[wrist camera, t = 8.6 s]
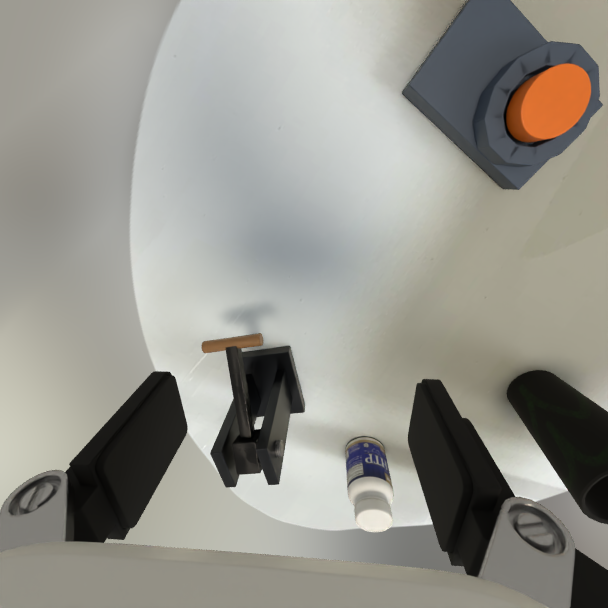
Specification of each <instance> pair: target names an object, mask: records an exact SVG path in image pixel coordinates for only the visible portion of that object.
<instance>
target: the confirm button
mask: <svg viewBox="0 0 608 608" xmlns="http://www.w3.org/2000/svg"><path fill="white" fill-rule="evenodd" d="M590 95H591V82H590V79H589V76H588V74H587V73H586V71H585V70H584V69H583V68H581V67H579V66H577V65H575V64H559V65H556V66H553V67H551V68H549V69H547V70H545V71H543V72H541V73H539V74H537V75H535V76H533V77H532V78H530V79H528V80H527V81H525V82H524V83H523V84H522V85H521V86H520V87H519V88H518V89H517V91H516V92H515V93H514V95H513V97H512V98H511V100H510V103H509V105H508V108H507V113H506V124H507V128H508V130H509V132H510V134H511V135H512V136H513V137H514V138H515V139H517V140H519V141H522V142H536V141H541V140H546V139H551V138H555V137H557V136H559V135H562V134H563V133H565V132H566V131H568V130H569V129H570V128H572V127H573V126H574V125H575V124H576V123H577V122H578V120H579V119H580V118H581V116H582V115H583V113H584V112H585V110H586V108H587V106H588V103H589V100H590Z"/></svg>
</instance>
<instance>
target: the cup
mask: <svg viewBox="0 0 608 608" xmlns="http://www.w3.org/2000/svg"><path fill="white" fill-rule="evenodd" d="M507 398H508V400H509V402H510V403H511V405H512V406H513V408H514V409H515V411H516V412H517V414H518V415H519V417H520V418H521V420H522V421H523V423H524V424H525V426H526V427H527V429H528V430H529V432H530V433H531V435H532V436H533V438H534V439H535V441H536V442H537V444H538V445H539V447H540V448H541V450H542V451H543V453H544V454H545V456H546V457H547V459H548V460H549V462H550V463H551V465H552V467H553V468H554V470H555V471H556V473H557V474H558V476H559V477H560V479H561V480H562V482H563V483H564V485H565V486H566V488H567V489H568V491H569V492H570V493H571V495H572V497H573V498H574V499H575V501H576V503H577V504H578V505H579V507H580V509H581V510H582V512H583V513H584V514H585V515H587V516H588V517H589V518H591V519H593V520H596V521H598V522H600V523H604V524H608V412H607V411H606V410H604V409H603V408H601V407H600V406H599V405H597V404H596V403H594V402H593V401H591V400H590V399H589V398H587V397H586V396H584V395H583V394H581V393H580V392H579V391H577V390H576V389H574V388H573V387H571V386H570V385H568V384H567V383H566V382H564V381H563V380H561V379H560V378H558V377H557V376H556V375H554V374H552V373H550V372H547V371H540V370H537V371H530V372H527V373H524V374H522V375H520V376H519V377H517V378H516V379H515V380H513V382H512V383H511V384H510V385H509V388H508V390H507Z"/></svg>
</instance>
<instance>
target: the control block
mask: <svg viewBox="0 0 608 608" xmlns="http://www.w3.org/2000/svg"><path fill="white" fill-rule="evenodd" d="M559 64H575V65H577V66H579V67H581V68H583V69H584V70H585V71H586V73H587V74H588V76H589V79H590V82H591V95H590V100H589V103H588V106H587V108H586V110H585V112H584V113H583V115H582V116H581V118H580V119H579V120H578V122H577V123H576V124H575V125H574V126H573V127H572V128H570V129H569V130H568V131H566V132H565V133H563V134H562V135H559V136H557V137H555V138H551V139H546V140H541V141H536V142H522V141H519V140H517V139H515V138H514V137H513V136H512V135H511V134H510V132H509V130H508V128H507V124H506V113H507V108H508V105H509V103H510V100H511V98H512V97H513V95H514V93H515V92H516V91H517V89H518V88H519V87H520V86H521V85H522V84H523V83H524V82H525V81H527V80H528V79H530V78H532V77H533V76H535V75H537V74H539V73H541V72H543V71H545V70H547V69H549V68H551V67H553V66H556V65H559ZM402 94H403V95H404V96H405V97H406V98H408V99H409V100H410V101H411V102H412V103H413V104H414V105H415V106H416V107H417V108H418V109H419V110H420V111H421V112H422V113H423V114H424V115H426V116H427V117H428V118H429V119H430V120H431V121H432V122H433V123H434V124H435V125H436V126H437V127H438V128H439V129H440V130H441V131H442V132H444V133H445V134H446V135H447V136H448V137H449V138H450V139H451V140H452V141H453V142H454V143H455V144H456V145H457V146H458V147H459V148H461V149H462V150H463V151H464V152H465V153H466V154H467V155H468V156H469V157H470V158H471V159H472V160H473V161H474V162H475V163H476V164H477V165H479V166H480V167H481V168H482V169H483V170H484V171H485V172H486V173H487V174H488V175H489V176H490V177H491V178H492V179H493V180H494V181H496V182H497V183H498V184H499V185H500V186H501V187H502V188H503V189H516V190H519V189H520V188H521V187H522V186H523V185H524V184H525V183H526V182H527V181H528V180H529V179H530V178H531V177H532V176H533V175H534V174H535V173H536V172H537V171H538V170H539V169H540V168H541V167H542V166H543V165H544V164H545V163H546V162H547V161H548V160H549V159H550V158H552V157H555V156H557V155H559V154H561V153H562V152H563V151H564V150H565V149H566V148H567V147H568V146H569V145H570V144H571V143H572V142H573V141H574V140H575V139H576V138H577V137H578V136H579V135H580V134H581V133H582V132H583V131H584V130H585V129H586V127H587V124H588V122H589V120H590V118H591V117H592V116H593V115H594V114H595V113H596V112H597V111H598V110H599V109H600V108H601V107H602V106H603V104H602V103H601V102H600V101H599V97H600V91H599V68H598V65H597V64H596V62H595V61H594V60H593V59H592V58H591V57H590V55H589V54H588V53H587V52H586V51H585V50H584V48H583V47H582V46H581V45H580V44H573V43H563V42H553V41H550V42H547V41H546V40H545V39H544V38H543V37H542V35H541V34H540V33H539V32H538V31H537V30H536V29H535V28H534V26H533V25H532V24H531V23H530V22H529V21H528V20H527V19H526V17H525V16H524V15H523V14H522V13H521V12H520V11H519V9H518V8H517V7H516V6H515V5H514V4H513V3H512V2H511V0H468V1H467V3H466V4H465V6H464V7H463V8H462V10H461V11H460V13H459V14H458V15H457V17H456V18H455V20H454V21H453V22H452V24H451V25H450V26H449V28H448V29H447V31H446V32H445V33H444V35H443V36H442V38H441V39H440V40H439V42H438V43H437V45H436V46H435V47H434V49H433V50H432V52H431V53H430V54H429V56H428V57H427V58H426V60H425V61H424V63H423V64H422V65H421V67H420V68H419V70H418V71H417V72H416V74H415V75H414V77H413V78H412V79H411V81H410V82H409V84H408V85H407V86H406V88H405V89H404V90H403V92H402Z"/></svg>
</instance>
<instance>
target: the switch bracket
mask: <svg viewBox="0 0 608 608" xmlns="http://www.w3.org/2000/svg"><path fill="white" fill-rule="evenodd" d="M242 357H243V363H244V369H245V375H246V381H247V387H248V393H249V399H250V405H251V412H252V418H253V424H255V421H256V417H261V416H264V420H263V424H262V427H261V431H260V435H259V438H258V442H257V446H256V452H257V455H258V458H259V461H260V463H261V466H262V469H263V472H264V474H265V477H266V480H267V482H268V485H276V484H279V481H280V475H281V469H282V462H283V456H284V450H285V443H286V437H287V431H288V425H289V418H290V414H292V413H303V412H304V411H305V403H304V399H303V395H302V391H301V387H300V384H299V380H298V376H297V372H296V368H295V364H294V360H293V356H292V352H291V348H290V346H287V347H280V348H272V349H265V350H257V351H250V352H242ZM239 434H240V433H239V427H238V421H237V415H236V409H235V403H234V399H233V402H232V404H231V406H230V408H229V411H228V413H227V415H226V418H225V420H224V422H223V425H222V427H221V429H220V432H219V434H218V436H217V439H216V441H215V443H214V446H213V448H212V450H211V453H210V454H211V456H212V458H213V461H214V463H215V465H216V467H217V469H218V471H219V474H220V476H221V478H222V480H223V482H224V485H225V486H226V487H236V484H237V481H238V478H239V475H237V472H236V466H235V460H234V454H233V448H232V443H233V442H234V440H235V439H236V438H237V436H238V435H239Z"/></svg>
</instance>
